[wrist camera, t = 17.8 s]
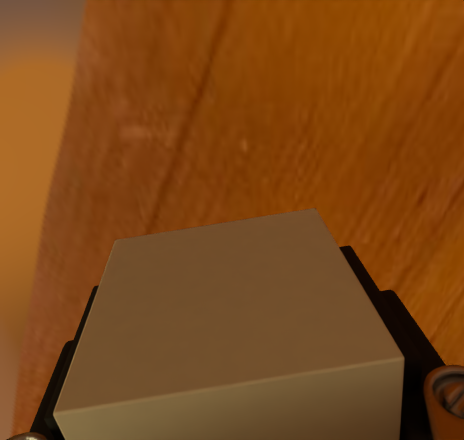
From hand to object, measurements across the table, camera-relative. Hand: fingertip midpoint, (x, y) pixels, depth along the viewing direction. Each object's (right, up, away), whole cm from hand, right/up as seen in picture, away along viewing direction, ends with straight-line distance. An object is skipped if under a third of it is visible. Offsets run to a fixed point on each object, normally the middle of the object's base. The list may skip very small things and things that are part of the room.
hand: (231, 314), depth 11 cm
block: (0, 0, 0) cm, 0 cm away
